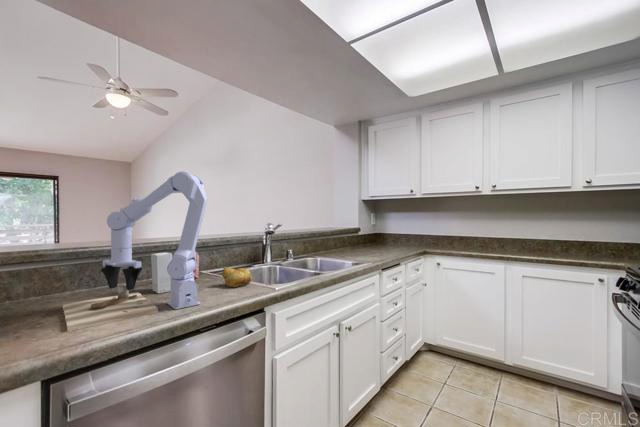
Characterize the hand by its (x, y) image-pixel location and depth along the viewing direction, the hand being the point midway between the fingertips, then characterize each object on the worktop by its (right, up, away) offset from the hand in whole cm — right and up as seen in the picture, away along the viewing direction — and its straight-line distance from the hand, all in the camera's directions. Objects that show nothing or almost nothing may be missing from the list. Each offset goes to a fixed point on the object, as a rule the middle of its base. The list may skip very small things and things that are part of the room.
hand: (121, 288), depth 97 cm
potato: (+32, -6, +27) cm, 42 cm away
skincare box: (+4, -6, +18) cm, 19 cm away
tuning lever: (0, -4, -3) cm, 5 cm away
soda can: (+8, -6, +34) cm, 35 cm away
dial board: (0, -5, -6) cm, 8 cm away
